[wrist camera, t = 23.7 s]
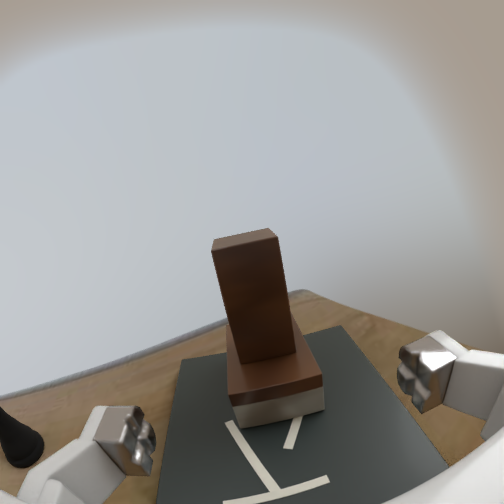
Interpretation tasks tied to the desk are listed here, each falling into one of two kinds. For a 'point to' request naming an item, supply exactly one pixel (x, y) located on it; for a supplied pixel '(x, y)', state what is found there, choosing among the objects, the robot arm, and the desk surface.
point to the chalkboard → (295, 439)
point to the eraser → (263, 334)
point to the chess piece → (19, 441)
